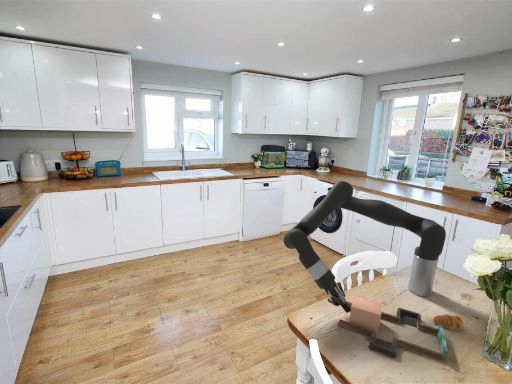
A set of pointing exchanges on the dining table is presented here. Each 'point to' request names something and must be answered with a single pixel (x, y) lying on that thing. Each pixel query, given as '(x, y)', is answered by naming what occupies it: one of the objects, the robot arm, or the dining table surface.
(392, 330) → the dining table surface
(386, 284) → the dining table surface
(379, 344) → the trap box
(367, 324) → the block
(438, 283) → the dining table surface
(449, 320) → the pastry
